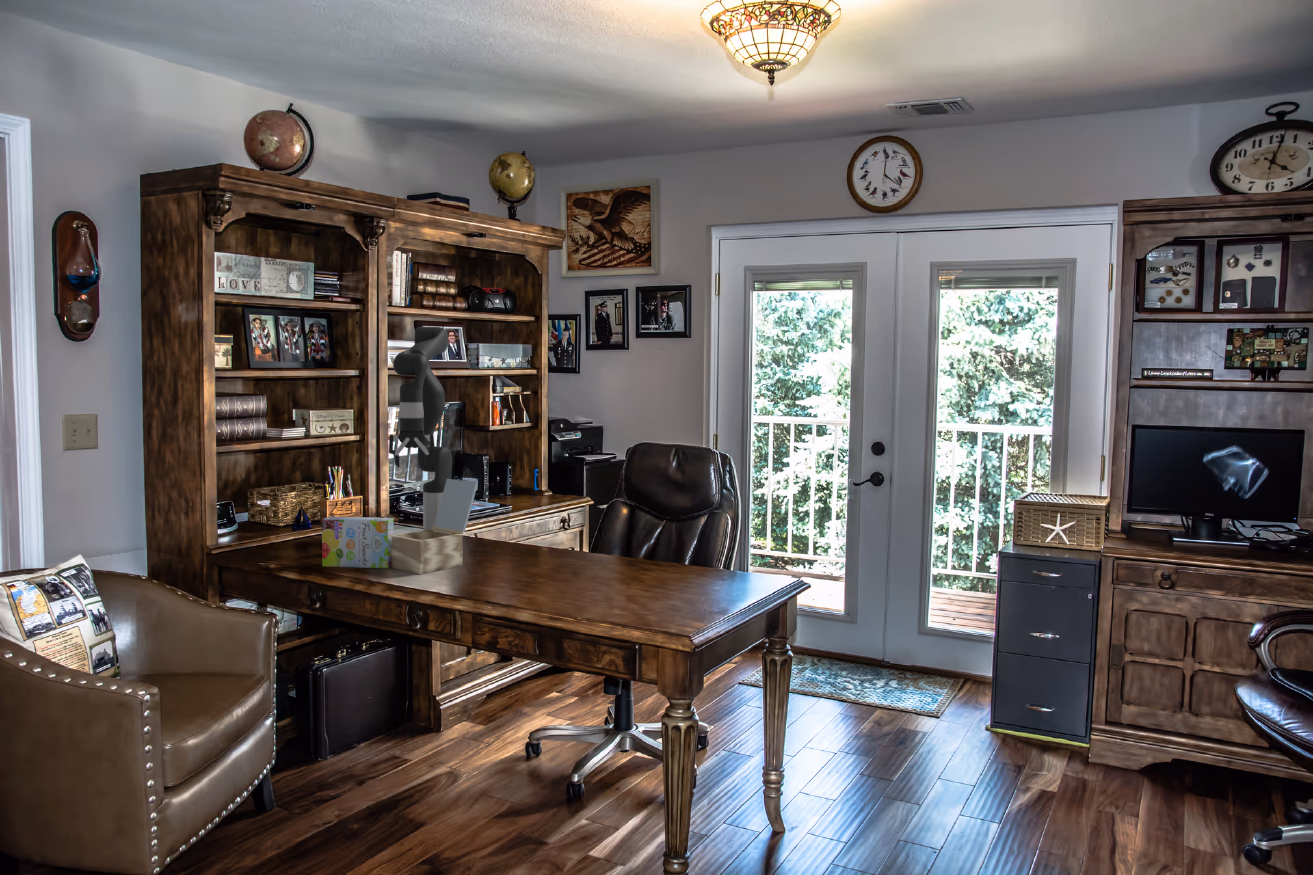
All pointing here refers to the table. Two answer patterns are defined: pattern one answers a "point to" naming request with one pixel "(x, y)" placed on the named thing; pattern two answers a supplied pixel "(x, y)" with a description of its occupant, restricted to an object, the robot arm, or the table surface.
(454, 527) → the lid
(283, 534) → the table surface
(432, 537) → the wooden box
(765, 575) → the table surface
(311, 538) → the table surface
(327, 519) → the snack box
